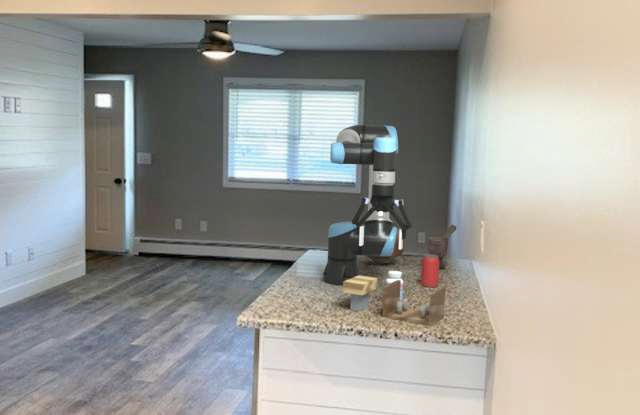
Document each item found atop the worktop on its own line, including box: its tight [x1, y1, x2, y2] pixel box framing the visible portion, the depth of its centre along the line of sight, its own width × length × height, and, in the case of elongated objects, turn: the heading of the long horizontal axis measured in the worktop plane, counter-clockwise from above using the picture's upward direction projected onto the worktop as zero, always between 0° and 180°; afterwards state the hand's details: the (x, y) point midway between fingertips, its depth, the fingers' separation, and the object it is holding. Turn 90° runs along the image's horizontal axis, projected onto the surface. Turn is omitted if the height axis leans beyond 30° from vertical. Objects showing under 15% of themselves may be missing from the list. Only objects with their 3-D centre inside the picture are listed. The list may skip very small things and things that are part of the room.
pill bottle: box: [384, 270, 404, 301], centre depth 206 cm, size 6×6×11 cm
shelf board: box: [342, 274, 379, 295], centre depth 200 cm, size 12×7×4 cm, turn 150°
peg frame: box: [382, 280, 446, 327], centre depth 191 cm, size 16×11×10 cm
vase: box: [366, 198, 405, 265], centre depth 272 cm, size 23×19×30 cm
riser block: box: [349, 292, 370, 312], centre depth 201 cm, size 3×8×6 cm, turn 151°
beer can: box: [420, 253, 440, 288], centre depth 235 cm, size 7×7×12 cm
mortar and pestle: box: [428, 224, 458, 269], centre depth 269 cm, size 12×9×20 cm
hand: (380, 247), depth 202 cm, fingers open, 13 cm apart
